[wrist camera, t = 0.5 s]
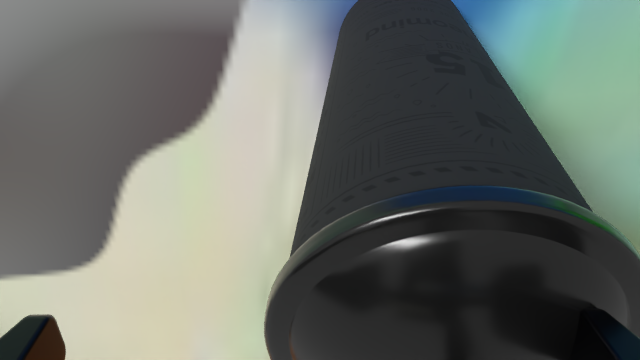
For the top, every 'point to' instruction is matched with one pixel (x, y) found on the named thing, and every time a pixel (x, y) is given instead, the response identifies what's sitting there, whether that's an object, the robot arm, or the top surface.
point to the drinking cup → (438, 211)
